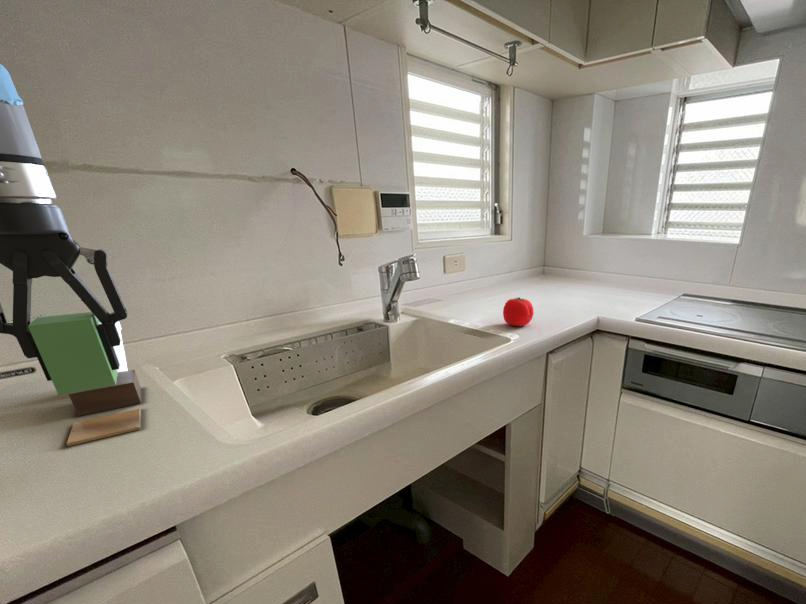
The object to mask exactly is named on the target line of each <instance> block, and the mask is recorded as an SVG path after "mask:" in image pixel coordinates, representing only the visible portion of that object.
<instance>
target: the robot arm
mask: <svg viewBox="0 0 806 604" xmlns="http://www.w3.org/2000/svg"><path fill="white" fill-rule="evenodd" d="M25 109H26V108H25V106H24V101H23V99H22V98H21V97H20V96H19V94H18V91H17V89H16V87H15V84H14V82H13V80H12V76H11V75H10V73H9V71H8V70H7V68H6V67H5V66H4V65H2V64H1V63H0V265H2V266H3V267H5V268H7V269H8V270H10V271H11V272H12V286H13V289H12V291H13V292H12V293H13V294H12V321H13V323H7V322H8V319H7V317H6V315H5V311H4V308H3V306H2V303H1V302H0V334H3V335H10V336H13V337H15V338H16V340H17V343H18V345H19V348H20V349H21V351H22V353H23V356H24V357H26V358H27V359H34V358H36V359H37V360H38V363H39V365H40V367H41V370H42V372H43V374H44V376H45V379H46V381H47V382H49V381H50V382H52V379H51V377H50V375H49V373H48V370H47V368H46V366H45V364H44V361H43V359H42V357H41V355H40V352H39V350H38V348H37V346H36V343H35V341H34V339H33V337H32V334H31V332H30V330H29V328H28V325H29V324H30V323H31V318H30V316H31V315H32V313H31V311H32V284H33V279H40V278H42V277H51V278H61V279H62V281H63V282H65V284H67V285H68V286H69V287H70V289H71V290H72V291H73V292H74V293H75V294H76V295H77V297H78V298H79V299H80V301H83V304H84V305H85V307H87V308H88V310H89V312H92V313H93V314H94V315H95V316H96V318H97V319H98V320H99V321H100V322H101V323H102V324H98V325H97V327H96V329H97V331H98V334H99V337H100V339H101V342H102V345H103V347H104V350H105V352H106V355H107V358H108V360H109V363H110V366H111V368H112V370H116V369H119V365H120V364H119V361H118V359H117V356H116V353H115V350H114V348H113V346H120V341H121V339H120V337H119V334H118V331H117V328H116V326H115V323H116V322H118V321H119V322H121V321H122V320H126V319H127V318H128V314H129V313H128V309H127V307H126V306H125V303H124V301H123V299H122V296H121V294H120V292H119V290H118V287H117V285H116V283H115V280H114V278H113V276H112V274H111V272H110V269H109V267H108V255H109V254H108V252H107V251H106V250H105V249H102V248H99V249H94V248H88V247H83V246H80V245H79V243H78V242H76V240H74V239H73V237H72V234H71V232H70V229H69V227H68V224H67V222H66V219H65V215H64V214H63V211H62V208H61V207H59V206H58V205H57V204H53V201H54V200H56V199H57V195H56V192H55V189H54V187H53V184H52V180H51V178H50V176H49V173H48V170H47V167H46V165H45V163H44V161H43V158H42V154H41V151H40V148H39V146H38V143H37V140H36V138H35V134H34V132H33V129H32V126H31V123H30V120H29V118H28V115H27V112H26V110H25ZM80 256H83V257H84V258H85V260H86V263H88V264H90V265H92V266H93V267H94V270H95V273H96V275H97V278H98V279H99V280H98V281H99V282H100V284H101V286H102V288H103V291H104V293H105V295H106V297H107V299H108V302H109V303H110V306H111V308H112V311H113V312H109V311H108V310H107V308H106V307H105V306H104V305H103V304H102V302H101V301H100V300H99V299H98V298H97V297H96V295H95V294H94V293H93V292H92V290H91V289H90V288H89V287H88V286H87V284H86V283H85V282H84V281H83V280H82V278H81V277H80V275H79V274H78V273H77V272H76V271H75V269H74V268H73V267H74V266H75V264H76V262H77V261H78V258H79V257H80Z"/></svg>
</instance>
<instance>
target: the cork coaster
mask: <svg viewBox="0 0 806 604" xmlns="http://www.w3.org/2000/svg"><path fill="white" fill-rule="evenodd" d="M141 413H142V410H141V408H136V409H131V410H128V411H127V410H126V411H123V412H118V413H114V414H108V415H104V416H99V417H95V418H90V419H85V420H80V421H76V422H73V424H72V425H71V426H72V427H71V429H70V433H69V436H68V438H67V441H66V446H67V447H71V446H76V445H80V444H84V443H89V442H93V441H96V440H97V441H98V440H101V439H104V438H105V439H106V438H110V437H113V436H118V435H122V434H126V433H130V432H134V431H139V430H141V418H142V417H141V416H142V415H141Z"/></svg>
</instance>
